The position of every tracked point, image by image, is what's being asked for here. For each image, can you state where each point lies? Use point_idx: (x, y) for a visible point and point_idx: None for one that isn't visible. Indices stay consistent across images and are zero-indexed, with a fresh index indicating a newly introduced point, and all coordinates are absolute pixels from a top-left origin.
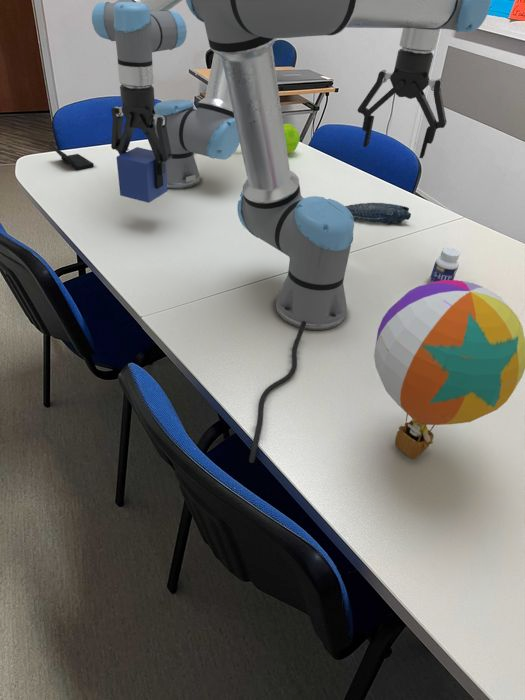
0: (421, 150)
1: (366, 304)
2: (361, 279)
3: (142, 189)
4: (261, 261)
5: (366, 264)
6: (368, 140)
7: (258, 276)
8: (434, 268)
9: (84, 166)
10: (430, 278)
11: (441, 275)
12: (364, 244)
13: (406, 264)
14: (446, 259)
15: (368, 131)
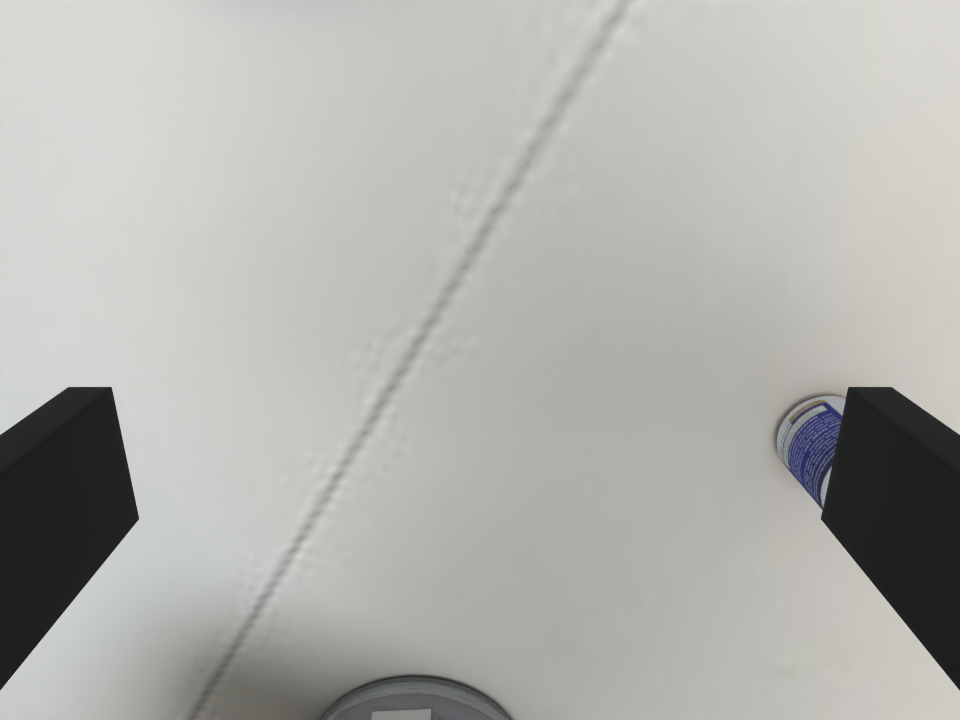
0: (873, 578)
1: (568, 663)
2: (514, 536)
3: None
4: (134, 594)
5: (503, 421)
6: (90, 493)
7: (185, 677)
8: (810, 494)
9: None
10: (785, 459)
11: None
12: (444, 240)
13: (670, 332)
14: None
15: (8, 666)
